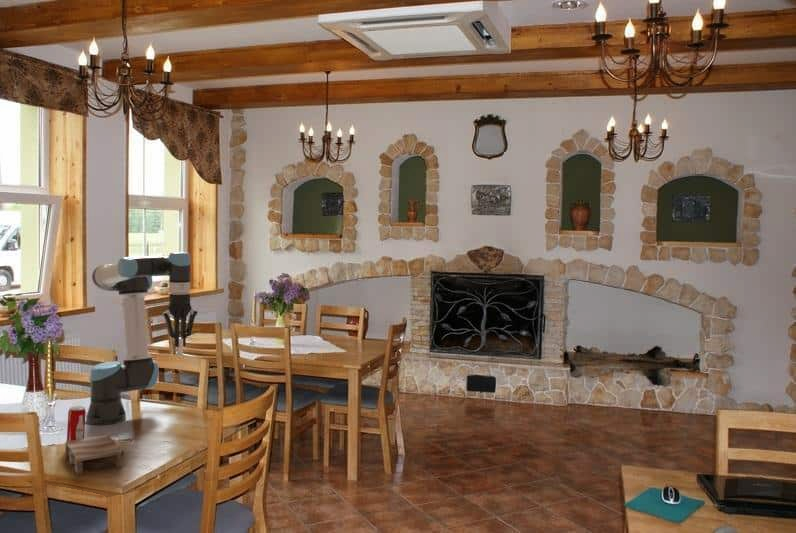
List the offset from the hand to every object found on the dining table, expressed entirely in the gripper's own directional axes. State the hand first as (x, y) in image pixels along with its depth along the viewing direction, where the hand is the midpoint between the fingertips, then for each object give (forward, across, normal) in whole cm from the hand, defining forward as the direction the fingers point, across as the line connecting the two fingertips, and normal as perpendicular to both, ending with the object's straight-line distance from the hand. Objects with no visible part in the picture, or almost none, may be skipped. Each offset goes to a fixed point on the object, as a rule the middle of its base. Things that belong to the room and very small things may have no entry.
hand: (180, 355), depth 261 cm
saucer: (+33, -30, -10) cm, 46 cm away
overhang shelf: (+32, -33, -10) cm, 47 cm away
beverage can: (+33, -35, +9) cm, 49 cm away
